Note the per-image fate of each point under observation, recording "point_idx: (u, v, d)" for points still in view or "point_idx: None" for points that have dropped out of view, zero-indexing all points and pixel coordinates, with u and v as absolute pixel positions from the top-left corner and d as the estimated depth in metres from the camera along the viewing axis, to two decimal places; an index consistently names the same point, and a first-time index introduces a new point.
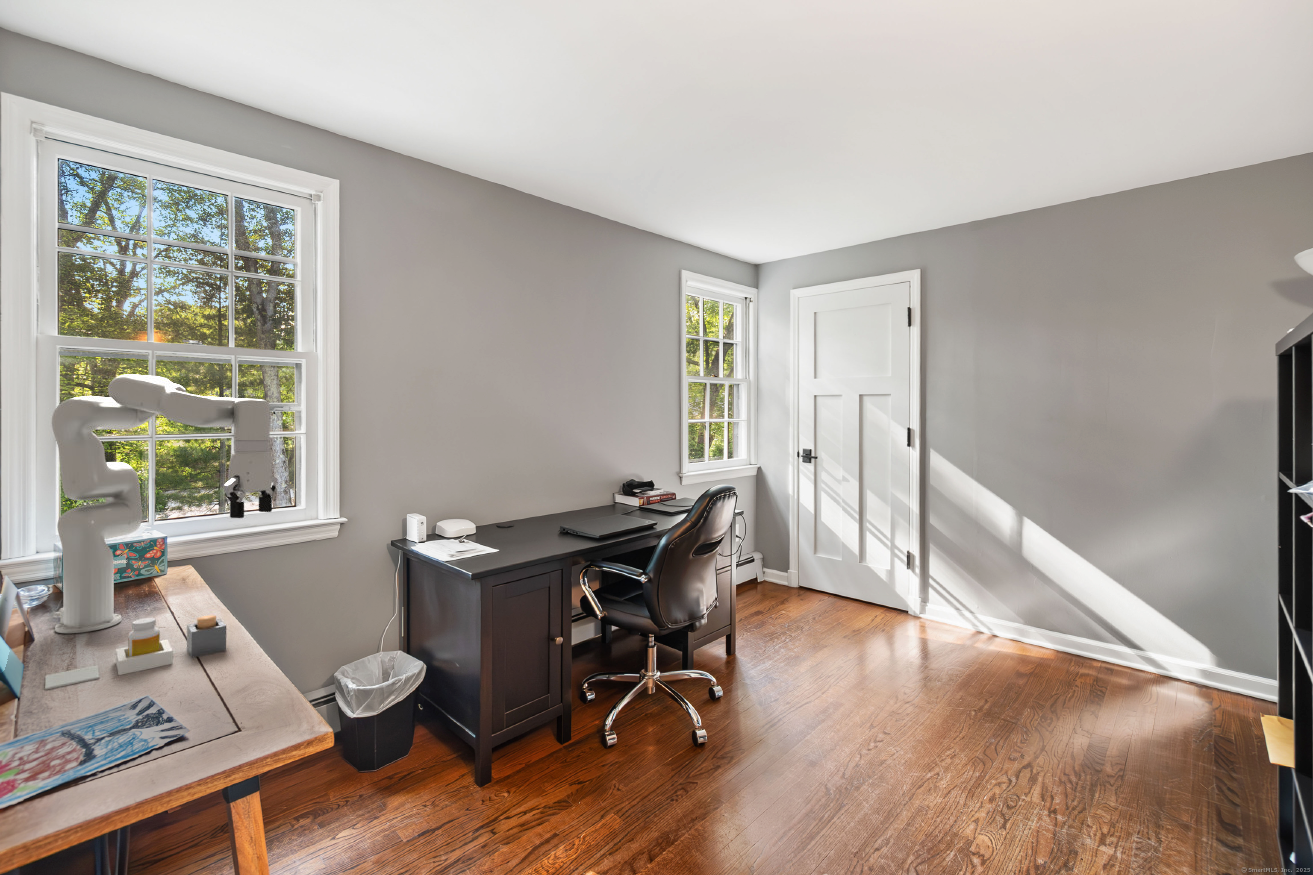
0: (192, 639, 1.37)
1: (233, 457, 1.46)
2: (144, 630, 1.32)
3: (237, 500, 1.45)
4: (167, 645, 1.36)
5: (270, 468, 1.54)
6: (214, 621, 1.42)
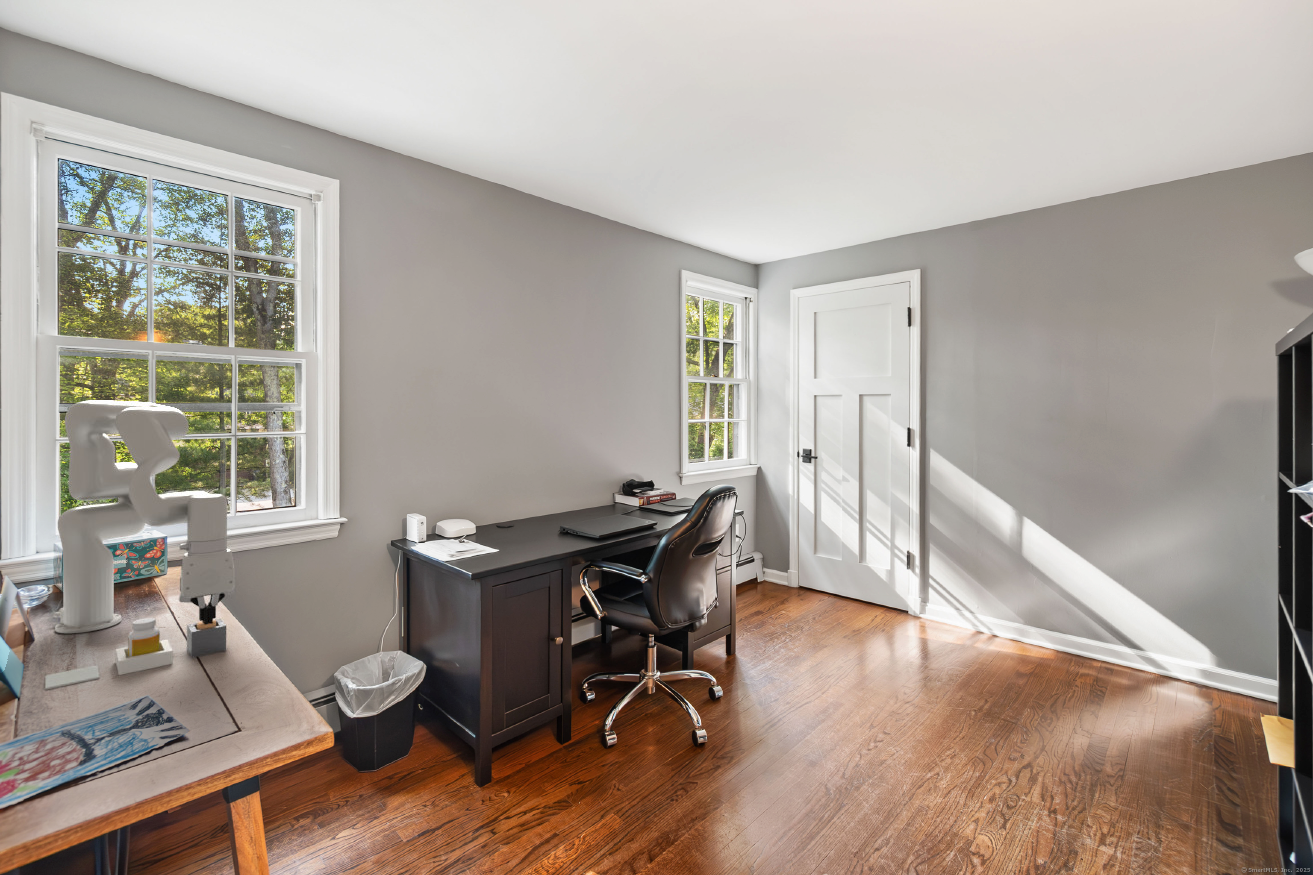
0: (192, 639, 1.37)
1: (231, 553, 1.43)
2: (144, 630, 1.32)
3: None
4: (167, 645, 1.36)
5: None
6: (214, 626, 1.42)
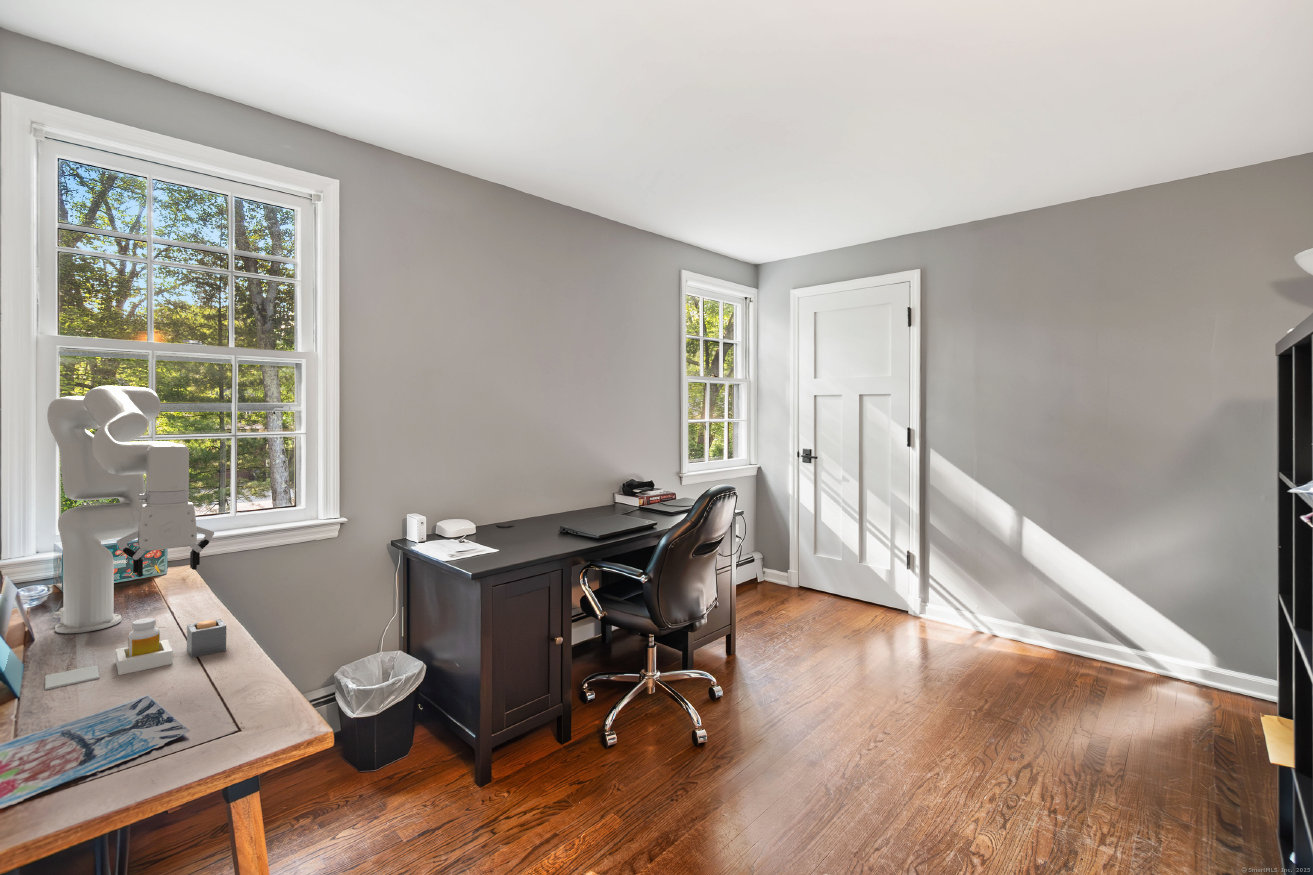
0: (192, 639, 1.37)
1: (193, 506, 1.38)
2: (144, 630, 1.32)
3: None
4: (167, 645, 1.36)
5: None
6: (214, 626, 1.42)
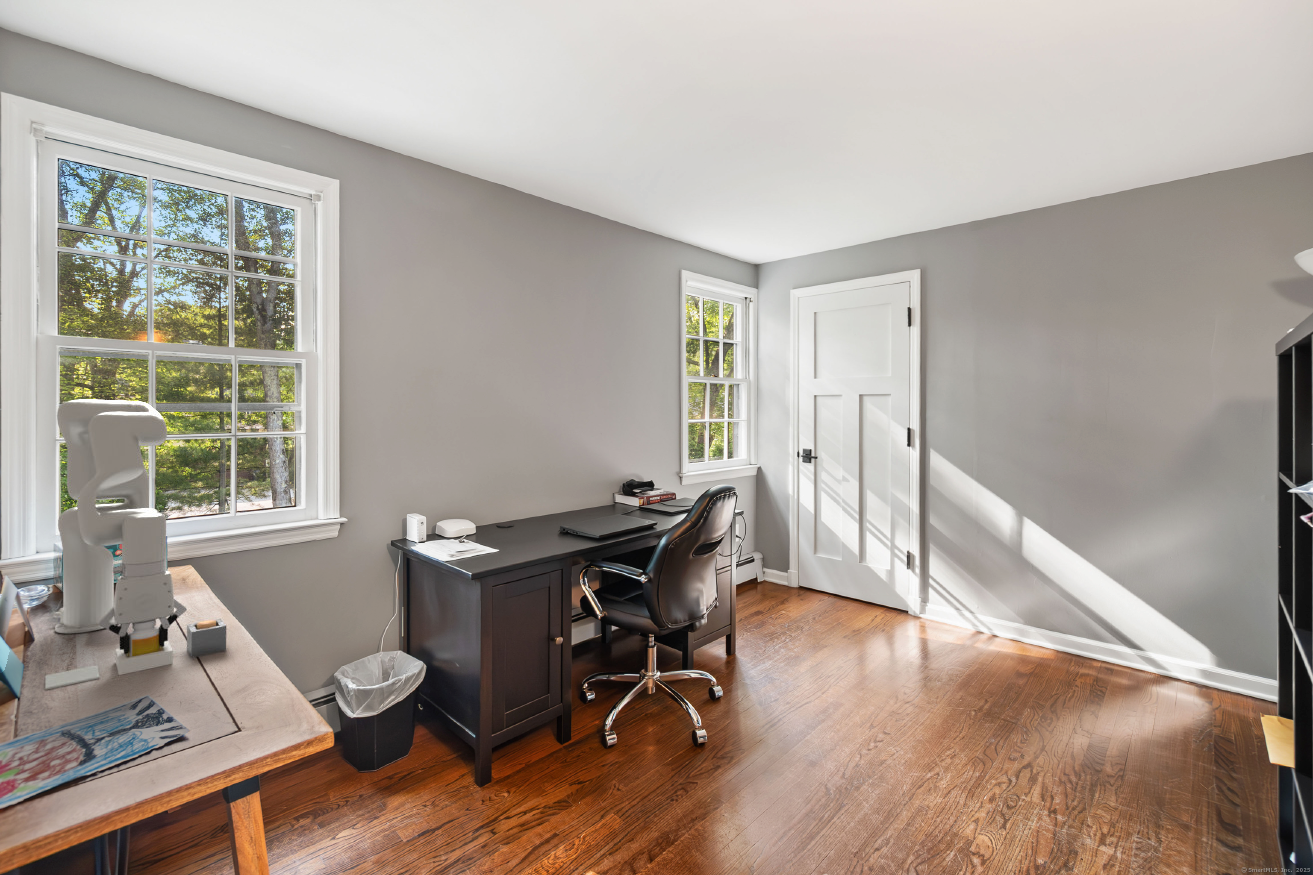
0: (192, 639, 1.37)
1: None
2: (144, 630, 1.32)
3: None
4: (167, 645, 1.36)
5: None
6: (214, 626, 1.42)
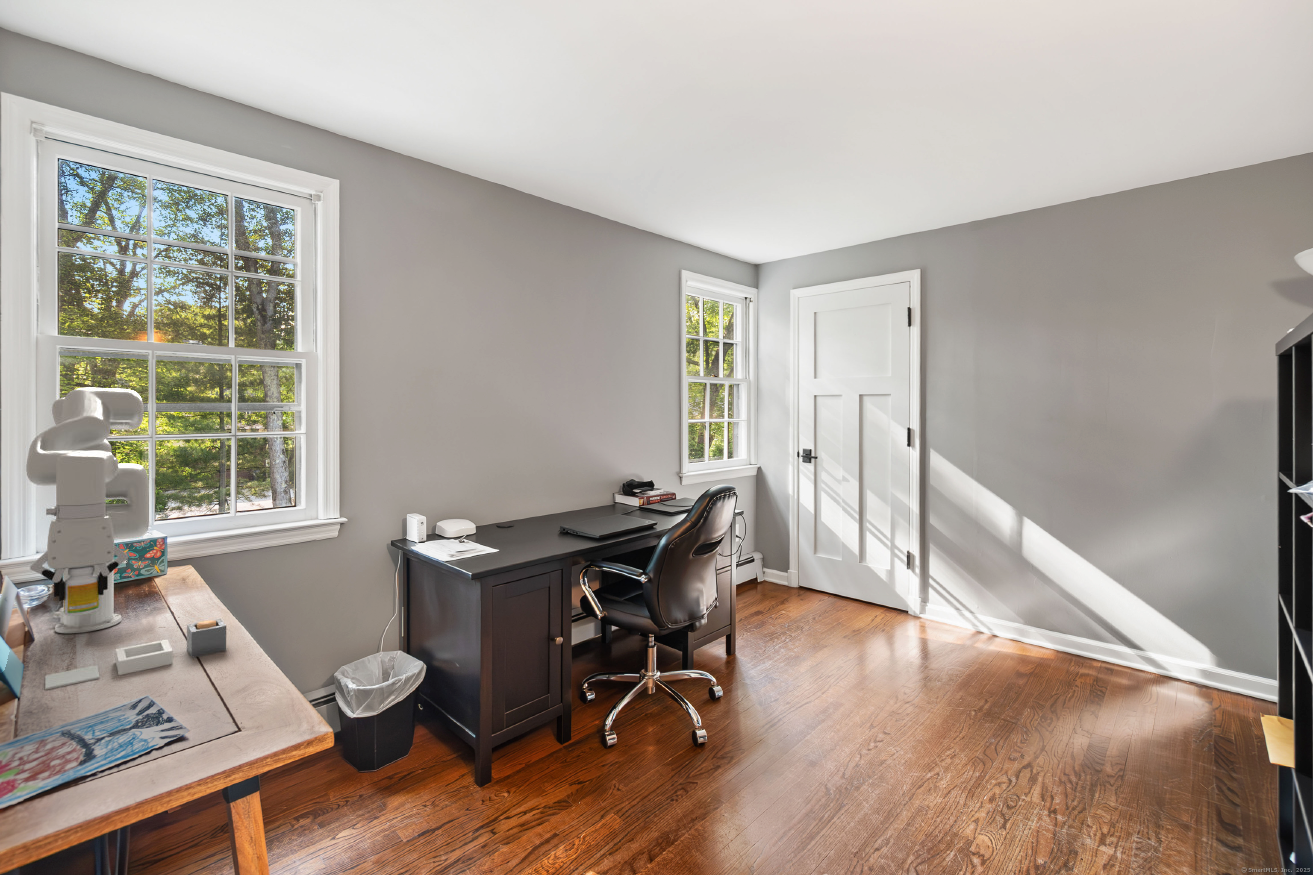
0: (192, 639, 1.37)
1: (111, 520, 1.28)
2: (81, 577, 1.25)
3: None
4: (167, 645, 1.36)
5: None
6: (214, 626, 1.42)
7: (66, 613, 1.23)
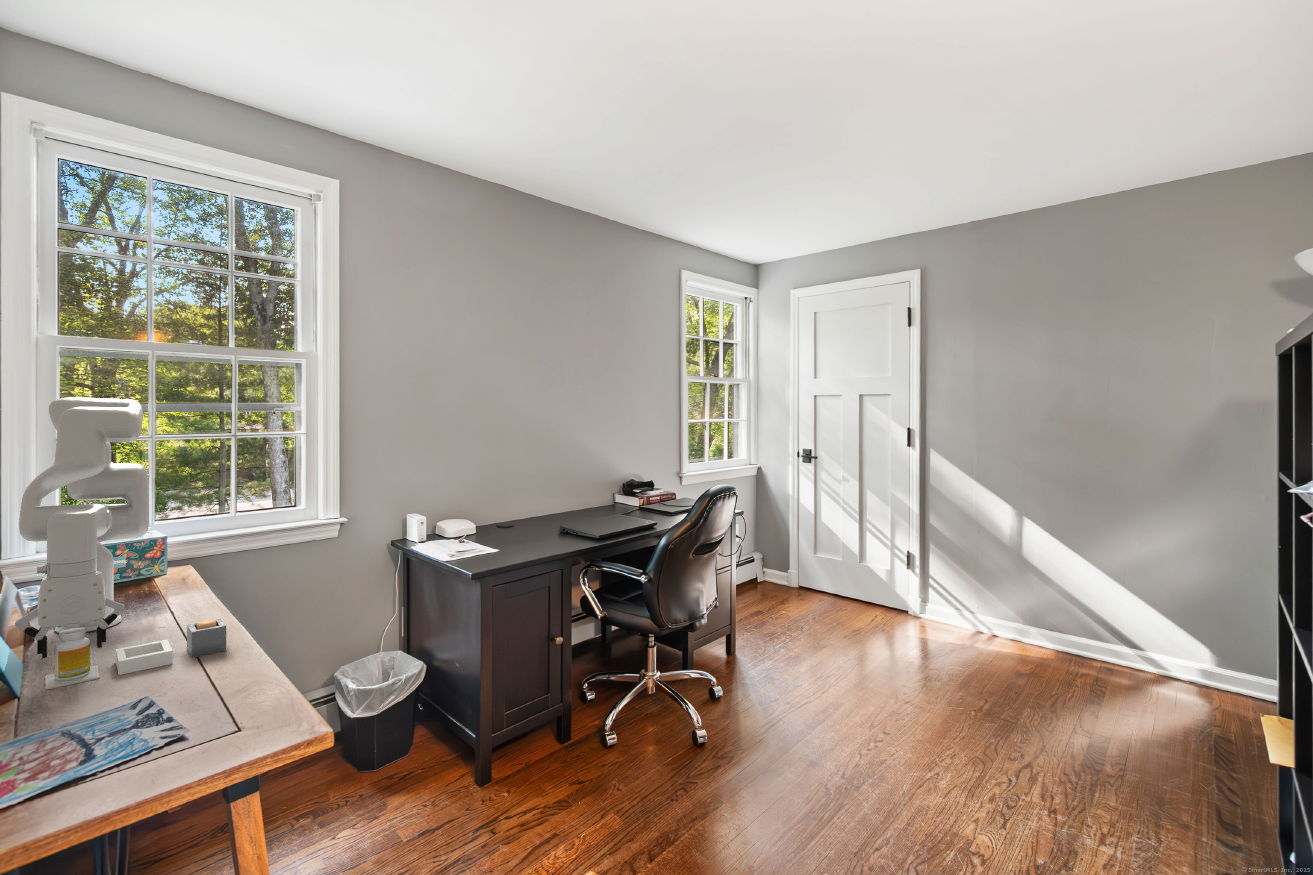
0: (192, 639, 1.37)
1: (102, 576, 1.27)
2: (71, 641, 1.24)
3: None
4: (167, 645, 1.36)
5: None
6: (214, 626, 1.42)
7: (57, 678, 1.23)
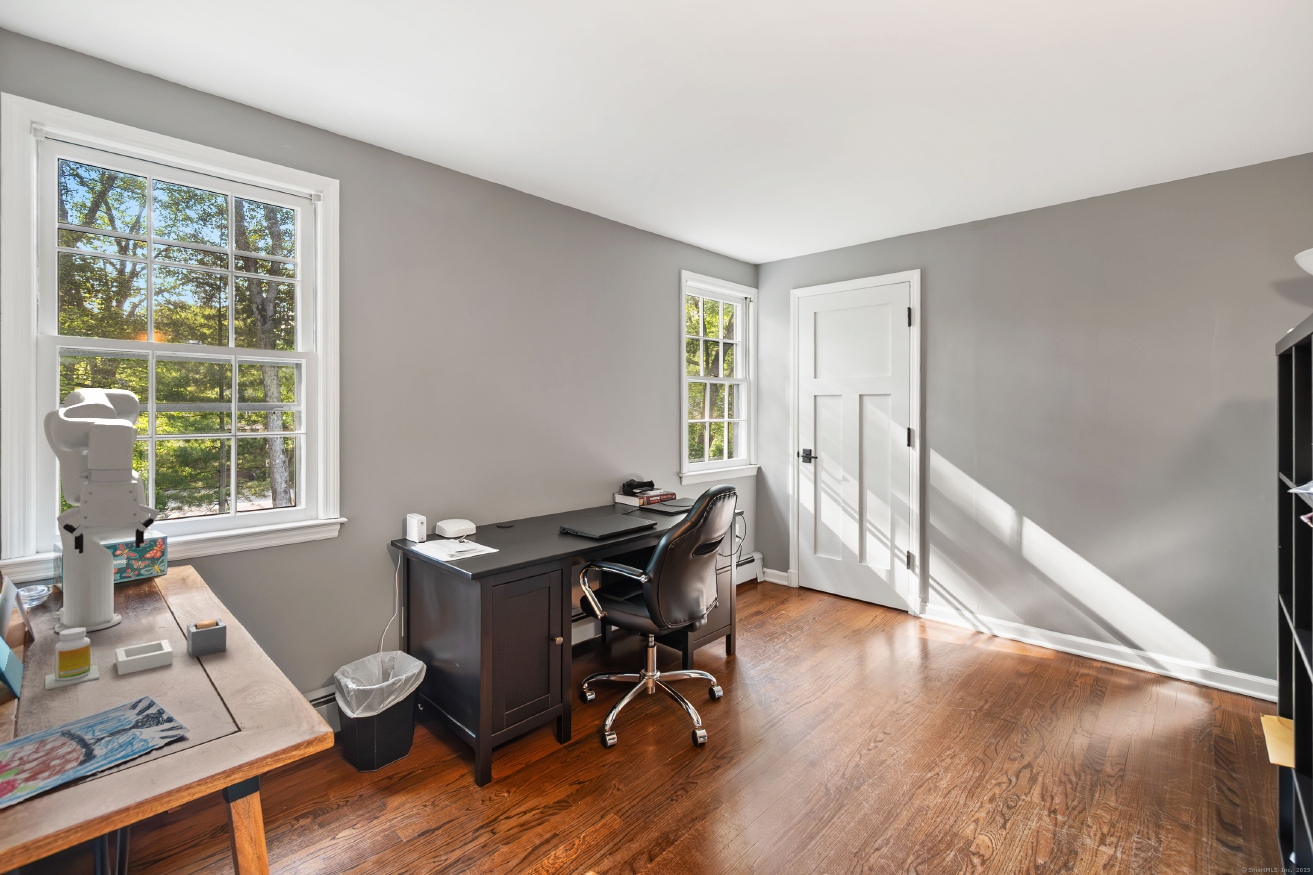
0: (192, 639, 1.37)
1: (137, 485, 1.38)
2: (72, 641, 1.24)
3: None
4: (167, 645, 1.36)
5: None
6: (214, 626, 1.42)
7: (57, 678, 1.23)
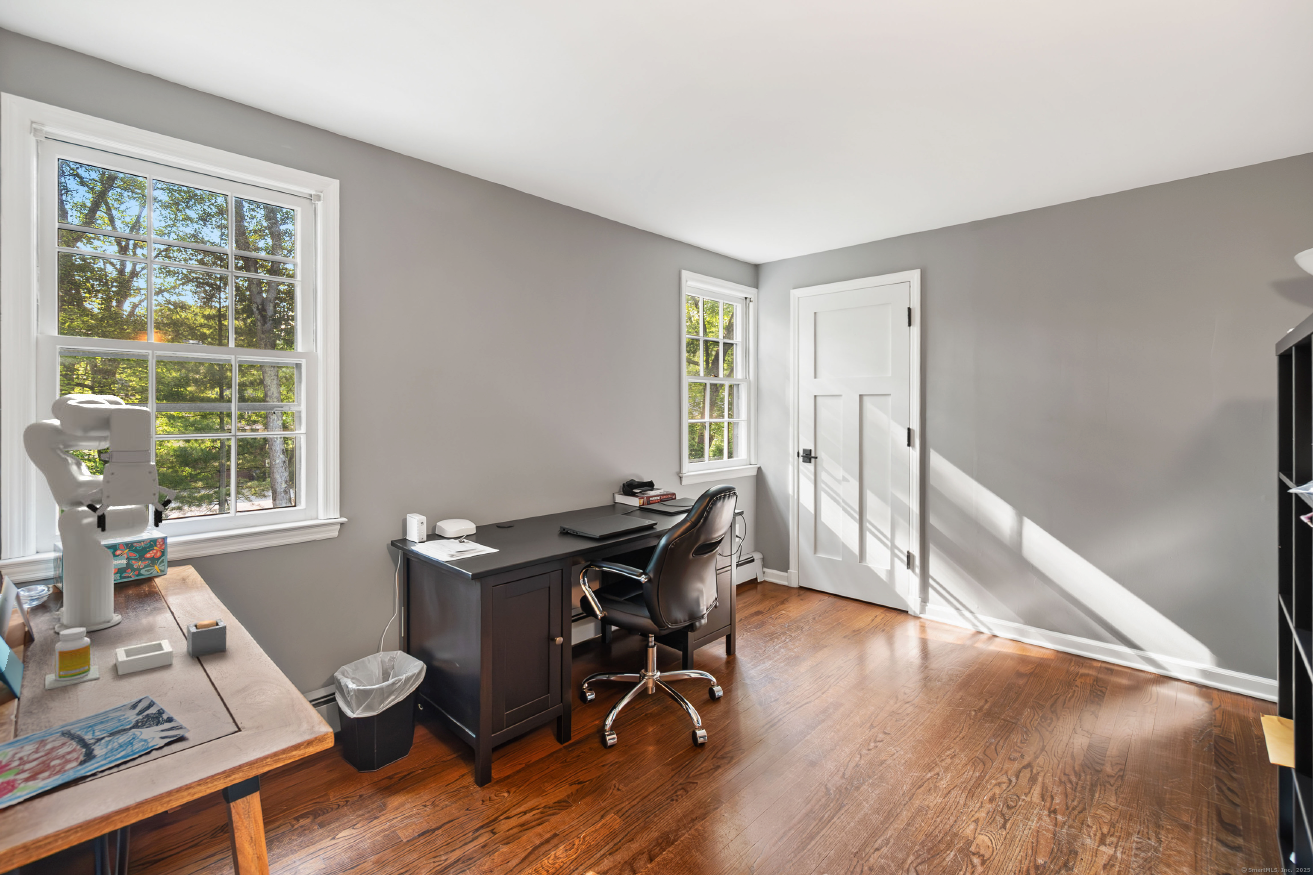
0: (192, 639, 1.37)
1: (155, 467, 1.45)
2: (72, 641, 1.24)
3: None
4: (167, 645, 1.36)
5: None
6: (214, 626, 1.42)
7: (57, 678, 1.23)
